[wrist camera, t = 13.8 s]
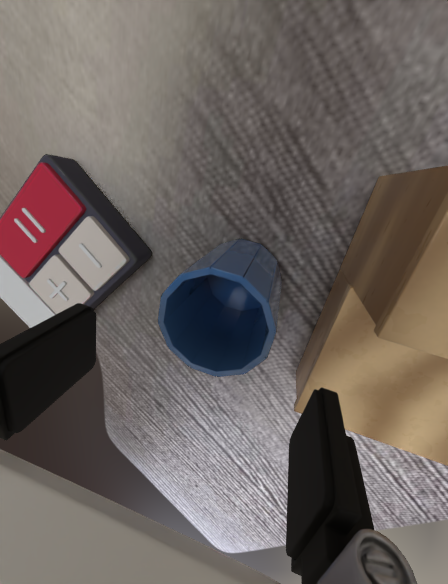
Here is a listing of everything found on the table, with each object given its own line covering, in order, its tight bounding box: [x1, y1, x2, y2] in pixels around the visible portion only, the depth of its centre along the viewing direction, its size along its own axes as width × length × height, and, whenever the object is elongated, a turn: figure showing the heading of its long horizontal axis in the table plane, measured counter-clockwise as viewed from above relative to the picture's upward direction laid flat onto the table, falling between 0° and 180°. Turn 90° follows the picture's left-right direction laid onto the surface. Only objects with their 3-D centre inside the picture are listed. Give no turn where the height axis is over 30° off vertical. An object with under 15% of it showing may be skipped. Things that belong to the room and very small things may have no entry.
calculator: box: [0, 154, 152, 328], centre depth 25 cm, size 11×4×15 cm
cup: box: [158, 239, 282, 377], centre depth 19 cm, size 7×7×10 cm
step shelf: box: [294, 166, 448, 466], centre depth 16 cm, size 13×18×11 cm
